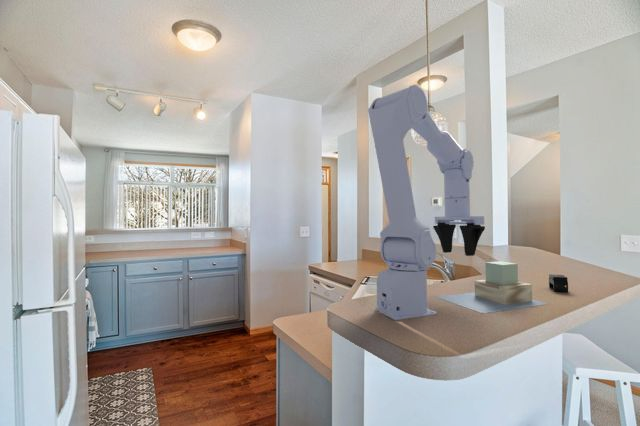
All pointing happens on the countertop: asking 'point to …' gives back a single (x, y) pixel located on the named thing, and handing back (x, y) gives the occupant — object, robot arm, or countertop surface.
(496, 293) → the base brick
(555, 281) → the black box
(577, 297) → the countertop surface
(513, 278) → the green brick
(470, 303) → the mat
